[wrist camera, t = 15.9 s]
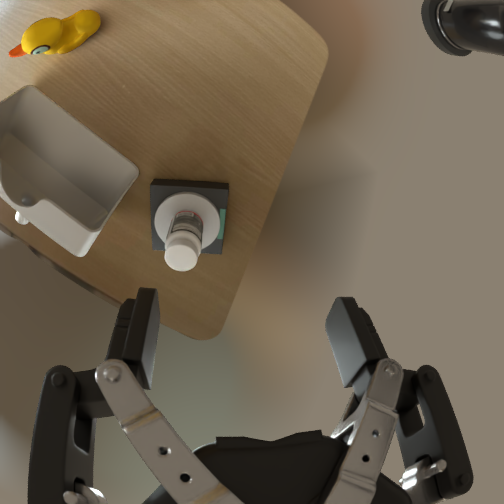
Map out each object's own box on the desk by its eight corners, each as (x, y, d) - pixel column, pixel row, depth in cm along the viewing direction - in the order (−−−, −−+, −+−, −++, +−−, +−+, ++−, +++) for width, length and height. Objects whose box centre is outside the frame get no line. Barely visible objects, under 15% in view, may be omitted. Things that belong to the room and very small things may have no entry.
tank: (-4, 162, 31) (-47, 194, 21) (30, 82, 26) (-24, 97, 16) (93, 239, 43) (66, 289, 33) (142, 170, 38) (114, 210, 28)
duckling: (45, 67, 25) (4, 74, 17) (41, 38, 22) (0, 38, 14) (111, 36, 25) (77, 29, 17) (107, 5, 22) (74, -9, 14)
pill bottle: (190, 243, 42) (185, 280, 35) (164, 225, 40) (154, 261, 33) (210, 221, 40) (208, 257, 33) (184, 202, 38) (176, 235, 31)
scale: (228, 183, 40) (228, 192, 38) (221, 245, 47) (221, 257, 44) (153, 178, 39) (148, 187, 36) (155, 241, 45) (151, 252, 42)
